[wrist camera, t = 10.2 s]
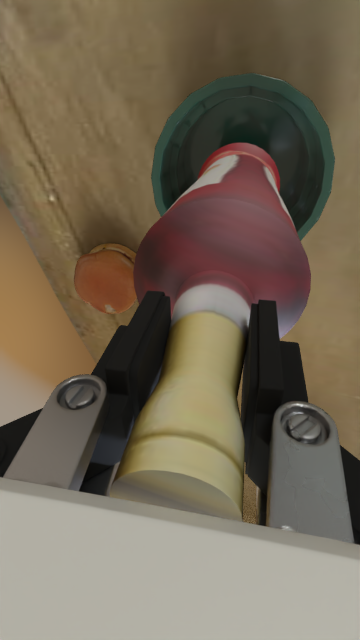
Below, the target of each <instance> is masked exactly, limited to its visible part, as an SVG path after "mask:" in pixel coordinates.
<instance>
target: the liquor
mask: <svg viewBox="0 0 360 640" xmlns="http://www.w3.org/2000/svg"><path fill="white" fill-rule="evenodd" d="M279 189H280V177H279V172H278V169H277V167H276V164H275V162H274V161H273V159H272V158H271V157H270V155H269V154H268V153H266V152H265V151H264V150H263V149H261V148H259V147H257V146H256V145H252V144H249V143H232V144H228V145H226V146H223V147H221V148H219V149H218V150H216V151H215V152H213V153H212V154H211V155H210V156H209V157H208V158H207V160H206V161H205V163H204V164H203V166H202V168H201V170H200V172H199V176H198V180H197V181H196V182H195V183H194V184H193V185H192V186H191V187H190V188H189V189H188V190H187V191H185V192H184V193H183V194H182V195H181V196H180V197H179V198H178V199H177V200H176V201H175V203H174V204H173V205H172V206H171V207H170V208H169V209H168V210H167V212H166V213H165V214H164V215H163V216H162V217H161V218H160V219H159V220H158V221H157V222H156V223H155V224H154V225H153V226H152V227H151V228H150V230H149V231H148V233H147V234H146V236H145V237H144V239H143V240H142V242H141V244H140V246H139V249H138V251H137V254H136V257H135V263H134V269H133V278H134V288H135V292H136V295H137V299H138V302H139V304H140V303H141V301H142V299H143V298H144V296H145V294H146V292H147V291H148V290H150V291H162V292H164V293H165V296H170V300H171V324H170V329H169V333H168V338H167V343H166V348H165V352H164V357H163V362H162V367H161V372H160V377H159V381H158V383H157V385H156V387H155V388H154V390H153V392H152V393H151V395H150V397H149V398H148V400H147V402H146V403H145V405H144V407H143V408H142V410H141V412H140V413H139V415H138V417H137V418H136V420H135V423H134V425H133V428H132V431H131V433H130V436H129V439H128V442H127V444H126V447H125V450H124V452H123V455H122V458H121V461H120V463H119V466H118V469H117V472H116V474H115V477H114V480H113V482H112V485H111V488H110V497H112V498H118V499H123V500H128V501H134V502H139V503H145V504H150V505H155V506H161V507H166V508H171V509H177V510H182V511H187V512H193V513H198V514H203V515H209V516H214V517H219V518H224V519H230V520H235V521H240V522H242V521H243V490H244V460H245V442H244V435H243V430H242V424H241V419H240V413H239V408H238V402H237V396H238V390H239V385H240V380H241V375H242V370H243V365H244V360H245V355H246V349H247V339H248V327H249V319H250V311H251V304H252V303H256V304H258V300H259V299H261V300H273V301H276V305H277V316H278V327H279V338H281V337H283V336H284V335H285V334H286V333H287V332H289V331H290V329H291V328H292V327H293V326H294V325H295V323H296V322H297V321H298V320H299V318H300V316H301V314H302V312H303V310H304V309H305V307H306V304H307V300H308V297H309V293H310V282H311V273H310V268H309V263H308V258H307V255H306V253H305V251H304V248H303V246H302V244H301V242H300V239H299V237H298V234H297V232H296V229H295V227H294V224H293V222H292V219H291V217H290V215H289V212H288V210H287V208H286V206H285V204H284V202H283V200H282V198H281V197H280V195H279Z"/></svg>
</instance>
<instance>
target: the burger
mask: <svg viewBox="0 0 360 640" xmlns="http://www.w3.org/2000/svg"><path fill="white" fill-rule="evenodd" d="M135 257H136V253H134V252H133V251H131V250H130V249H129V248H127V247H125V246H123V245H120V244H113V243H109V244H102V245H99V246H97V247H95V248H93V249H92V250H91V252H90V253H89V254H85V255H82V256H81V257H80V258H79V260H78V261H77V264H76V268H75V275H74V284H75V289H76V292H77V294H78V296H79V297H80V298H81V299H82V300H83V301H84V302H86V303H87V304H90V305H91V306H93V307H94V308H95V309H97V310H99V311H101V312H103V313H107V314H112V313H121V312H124V311H126V310H128V309H129V308H130V307H131V306H132V305H133V304H134V303H135V301H136V300H137V295H136V292H135V288H134V278H133V269H134V263H135Z"/></svg>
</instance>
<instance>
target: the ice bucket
mask: <svg viewBox="0 0 360 640" xmlns="http://www.w3.org/2000/svg"><path fill="white" fill-rule="evenodd" d="M232 143H249V144H252V145H256V146H257V147H259V148H261V149H263V150H264V151H265V152H266V153H268V154H269V155H270V157H271V158H272V159H273V161H274V162H275V164H276V167H277V169H278V172H279V177H280V189H279V195H280V197H281V198H282V200H283V202H284V204H285V206H286V208H287V210H288V212H289V215H290V217H291V219H292V222H293V224H294V227H295V229H296V232H297V234H298V237H299V239H300V241H301V240H302V239H303V237H304V236H305V235H306V234H307V233H308V231H309V230H310V229H311V228H312V227H313V226H314V224H315V223H316V222H317V221H318V219H319V218H320V215H321V213H322V211H323V209H324V206H325V204H326V202H327V200H328V197H329V195H330V193H331V189H332V180H333V172H334V164H335V157H334V152H333V147H332V142H331V137H330V133H329V129H328V126H327V125H326V123H325V121H324V120H323V118H322V117H321V115H320V113H319V112H318V110H317V109H316V107H315V105H314V104H313V102H312V101H311V100H310V99H309V98H308V97H306V96H305V95H304V94H302V93H301V92H299V91H298V90H297V89H295V88H294V87H293V86H291V85H290V84H289V83H287V82H286V81H284V80H280V79H276V78H272V77H268V76H263V75H259V74H255V73H248V74H242V75H235V76H228V77H222V78H218V79H216V80H215V81H213V82H211V83H209V84H207V85H206V86H204V87H202V88H200V89H198V90H197V91H195V92H193V93H191V94H190V95H189V96H188V97H187V98H186V99H185V100H184V101H183V103H182V104H181V105H180V106H179V107H178V108H177V109H176V110H175V111H174V113H173V114H172V115H171V116H170V117H169V119H168V120H167V122H166V124H165V126H164V129H163V131H162V133H161V135H160V137H159V140H158V142H157V144H156V146H155V152H154V159H153V167H152V174H151V176H152V177H151V179H152V186H153V192H154V199H155V204H156V207H157V209H158V211H159V213H160V215H161V217H162V216H163V215H164V214H165V213H166V212H167V210H168V209H169V208H170V207H171V206H172V205H173V204H174V203H175V201H176V200H177V199H178V198H179V197H180V196H181V195H182V194H183V193H184V192H185V191H187V190H188V189H189V188H190V187H191V186H192V185H193V184H194V183H195V182H196V181H197V180H198V176H199V172H200V170H201V168H202V166H203V164H204V163H205V161H206V160H207V158H208V157H209V156H210V155H211V154H212V153H213V152H215V151H216V150H218V149H219V148H221V147H223V146H226V145H228V144H232Z"/></svg>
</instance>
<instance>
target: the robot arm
mask: <svg viewBox="0 0 360 640" xmlns="http://www.w3.org/2000/svg"><path fill="white" fill-rule="evenodd" d="M170 324H171V300H170V296H165V293H164V292H162V291H150V290H148V291H147V292H146V294H145V296H144V298H143V299H142V301H141V303H140V305H139V307H138V309H137V310H136V312H135V314H134V316H133V318H132V320H131V321H130V323H129V325H128V326H125V325H121V326H119V328H118V329H117V331H116V332H115V334H114V336H113V338H112V339H111V341H110V343H109V344H108V346H107V348H106V350H105V351H104V353H103V355H102V356H101V358H100V360H99V362H98V363H97V365H96V367H95V369H94V370H93V372H92V374H91V375H89V374H85V375H77V376H73V377H70V378H68V379H66V380H64V381H63V382H61V383H60V384H59V385H58V386H57V387H56V388H55V389H54V391H53V392H52V394H51V396H50V397H49V399H48V401H47V402H46V404H45V406H44V408H42V409H40V410H38V411H35V412H33V413H31V414H28V415H26V416H24V417H21V418H19V419H17V420H15V421H13V422H10V423H8V424H6V425H3V426H1V427H0V640H360V461H359V460H358V459H357V458H356V457H354V456H353V455H352V454H351V453H349V452H348V451H347V450H346V449H344V448H343V447H342V446H341V445H340V444H339V437H338V431H337V428H336V425H335V422H334V421H333V419H332V418H331V417H330V415H329V414H327V413H326V412H325V411H324V410H323V409H321V408H319V407H317V406H315V405H314V404H310V403H308V397H307V391H306V385H305V379H304V373H303V367H302V360H301V354H300V348H299V344H298V343H295V342H285V341H280V338H279V327H278V316H277V305H276V301H273V300H261V299H259V300H258V304H256V303H252V304H251V311H250V319H249V327H248V339H247V349H246V355H245V360H244V368H243V384H242V403H241V424H242V430H243V435H244V442H245V460H244V462H246V471H245V474H248V477H249V478H250V479H251V480H252V481H253V482H254V483H255V484H256V485H257V487H258V488H259V489H258V498H257V512H256V524H251V523H245V522H240V521H235V520H230V519H224V518H219V517H214V516H209V515H203V514H198V513H193V512H187V511H182V510H177V509H171V508H166V507H161V506H155V505H150V504H145V503H139V502H134V501H128V500H123V499H118V498H112V497H110V488H111V485H112V482H113V480H114V477H115V474H116V472H117V469H118V466H119V463H120V461H121V458H122V455H123V452H124V450H125V447H126V444H127V442H128V439H129V436H130V433H131V431H132V428H133V425H134V423H135V420H136V418H137V417H138V415H139V413H140V412H141V410H142V408H143V407H144V405H145V403H146V402H147V400H148V398H149V397H150V395H151V393H152V392H153V390H154V388H155V387H156V385H157V383H158V381H159V377H160V372H161V367H162V362H163V357H164V352H165V348H166V343H167V338H168V333H169V329H170Z"/></svg>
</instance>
